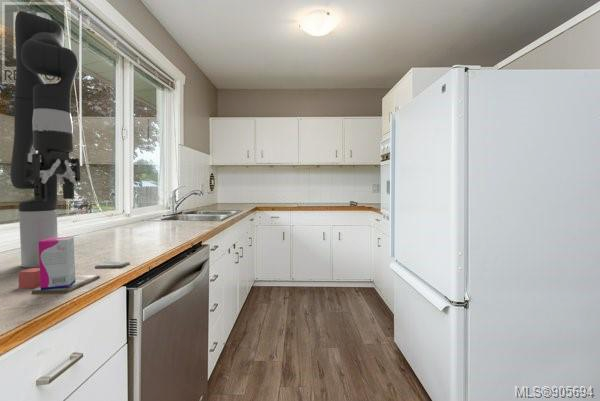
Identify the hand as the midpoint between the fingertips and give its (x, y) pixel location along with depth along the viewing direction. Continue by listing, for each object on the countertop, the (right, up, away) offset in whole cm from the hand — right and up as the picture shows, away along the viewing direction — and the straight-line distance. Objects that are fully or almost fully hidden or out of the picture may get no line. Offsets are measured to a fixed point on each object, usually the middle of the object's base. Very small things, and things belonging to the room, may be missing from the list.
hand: (55, 199), depth 76 cm
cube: (-7, -20, +4) cm, 21 cm away
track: (0, -21, +12) cm, 24 cm away
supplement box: (0, -21, +1) cm, 21 cm away
